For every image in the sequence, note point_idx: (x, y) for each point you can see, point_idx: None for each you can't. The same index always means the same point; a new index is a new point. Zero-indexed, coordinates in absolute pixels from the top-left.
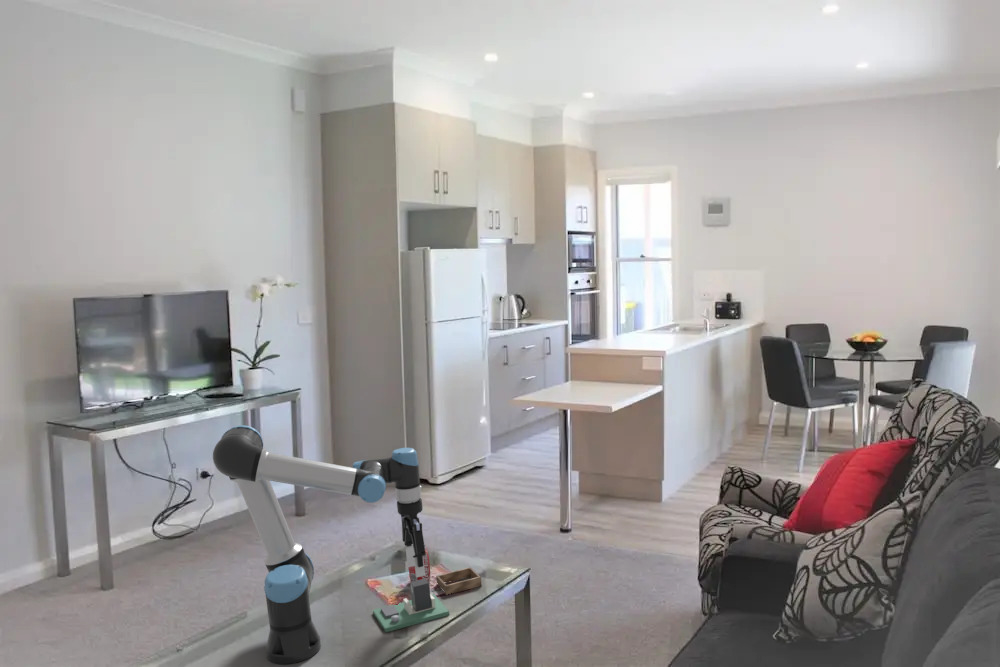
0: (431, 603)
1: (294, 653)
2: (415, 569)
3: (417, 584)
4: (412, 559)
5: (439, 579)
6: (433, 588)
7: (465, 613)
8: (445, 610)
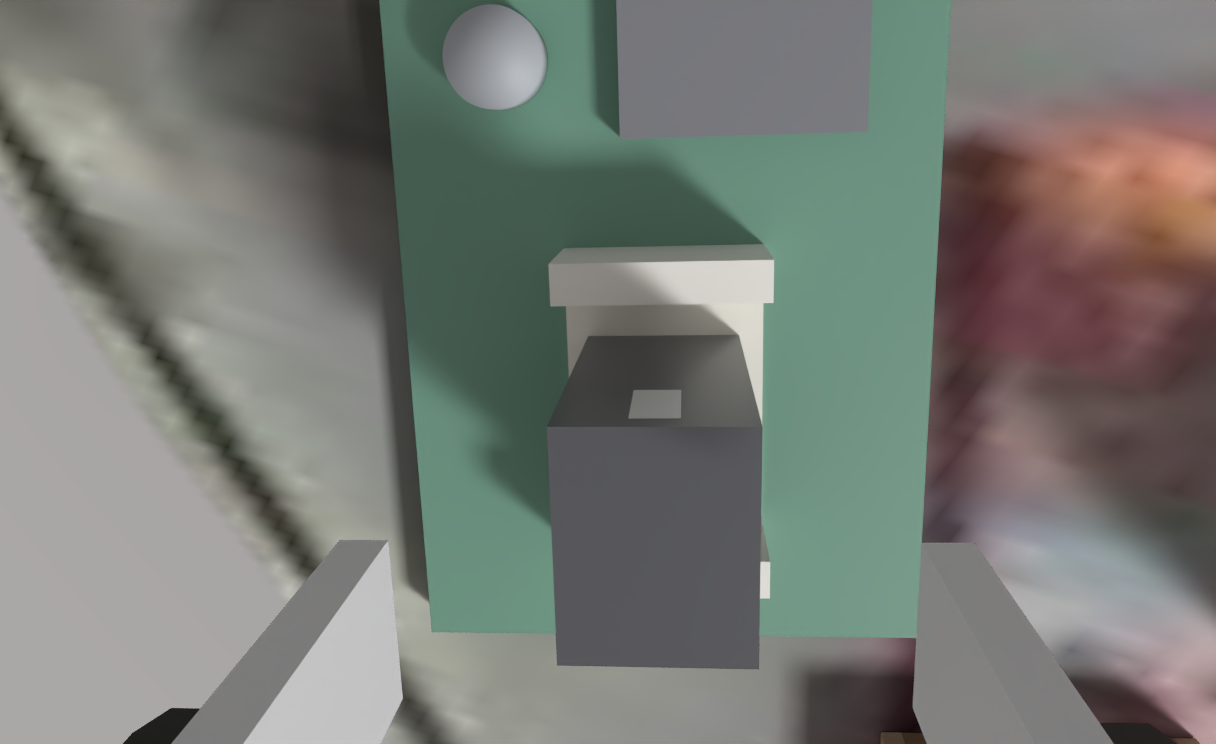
0: None
1: None
2: (314, 616)
3: (601, 506)
4: (958, 734)
5: None
6: (1127, 678)
7: (398, 739)
8: (463, 608)
